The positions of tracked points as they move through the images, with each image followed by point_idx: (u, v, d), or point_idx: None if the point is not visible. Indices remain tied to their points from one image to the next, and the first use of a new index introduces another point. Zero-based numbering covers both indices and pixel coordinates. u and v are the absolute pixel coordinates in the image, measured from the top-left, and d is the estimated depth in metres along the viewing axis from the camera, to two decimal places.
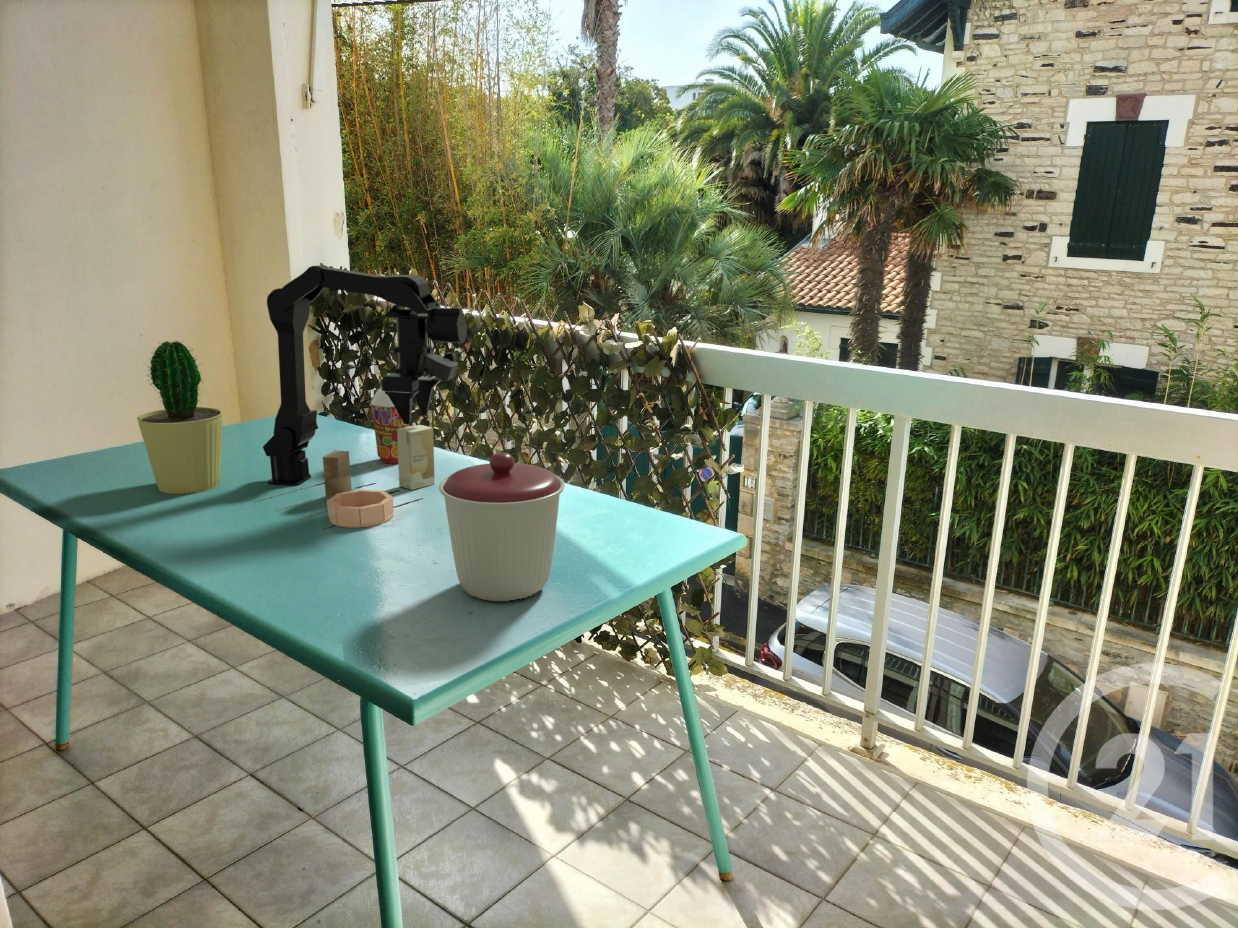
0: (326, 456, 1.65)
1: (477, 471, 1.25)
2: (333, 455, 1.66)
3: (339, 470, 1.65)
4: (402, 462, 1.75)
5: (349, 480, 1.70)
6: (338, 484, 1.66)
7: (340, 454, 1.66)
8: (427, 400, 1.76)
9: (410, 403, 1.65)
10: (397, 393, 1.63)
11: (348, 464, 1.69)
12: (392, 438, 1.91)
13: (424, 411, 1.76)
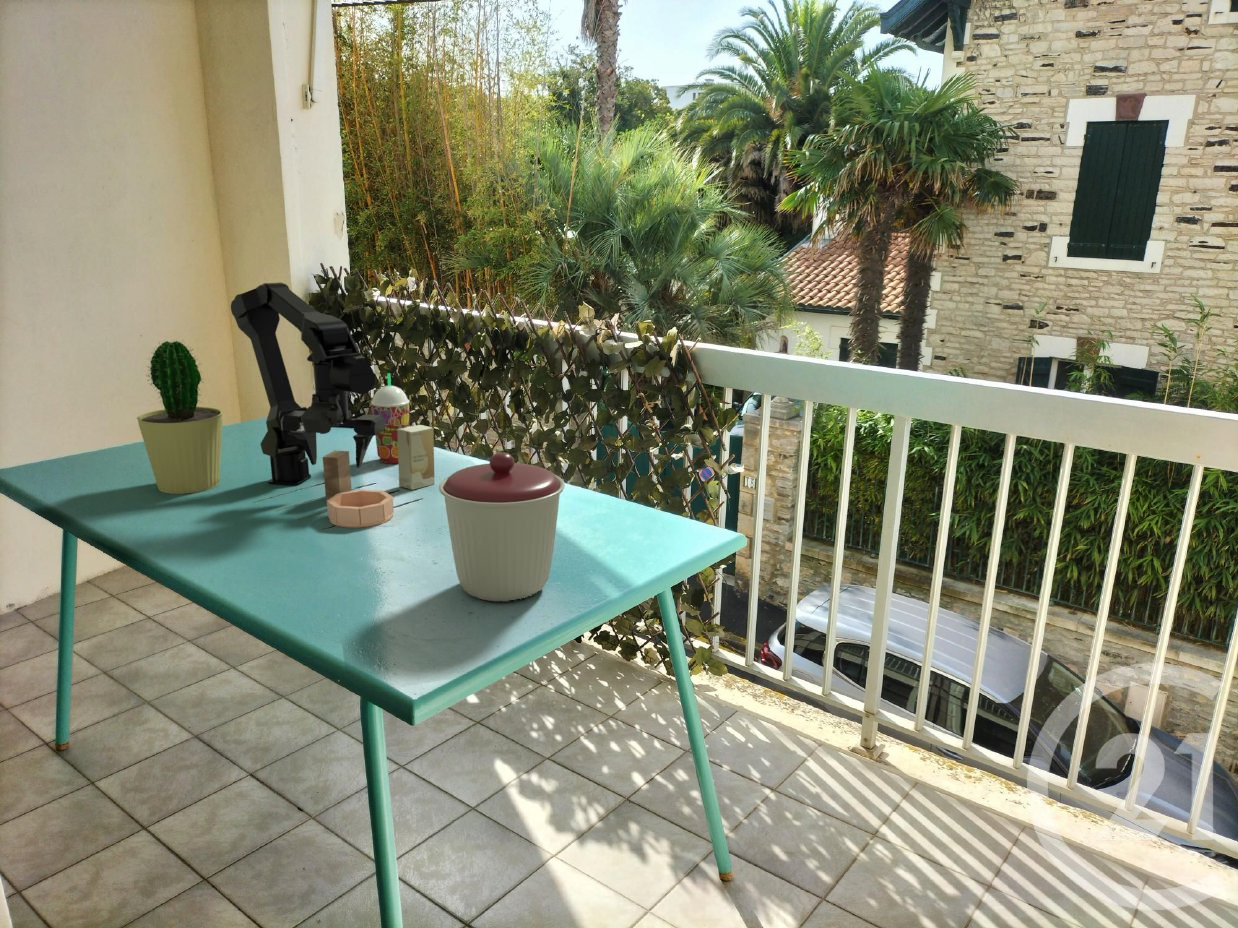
0: (326, 456, 1.65)
1: (477, 471, 1.25)
2: (333, 455, 1.66)
3: (339, 470, 1.65)
4: (402, 462, 1.75)
5: (349, 480, 1.70)
6: (338, 484, 1.66)
7: (340, 454, 1.66)
8: None
9: (303, 443, 1.66)
10: None
11: (348, 464, 1.69)
12: (392, 438, 1.91)
13: None
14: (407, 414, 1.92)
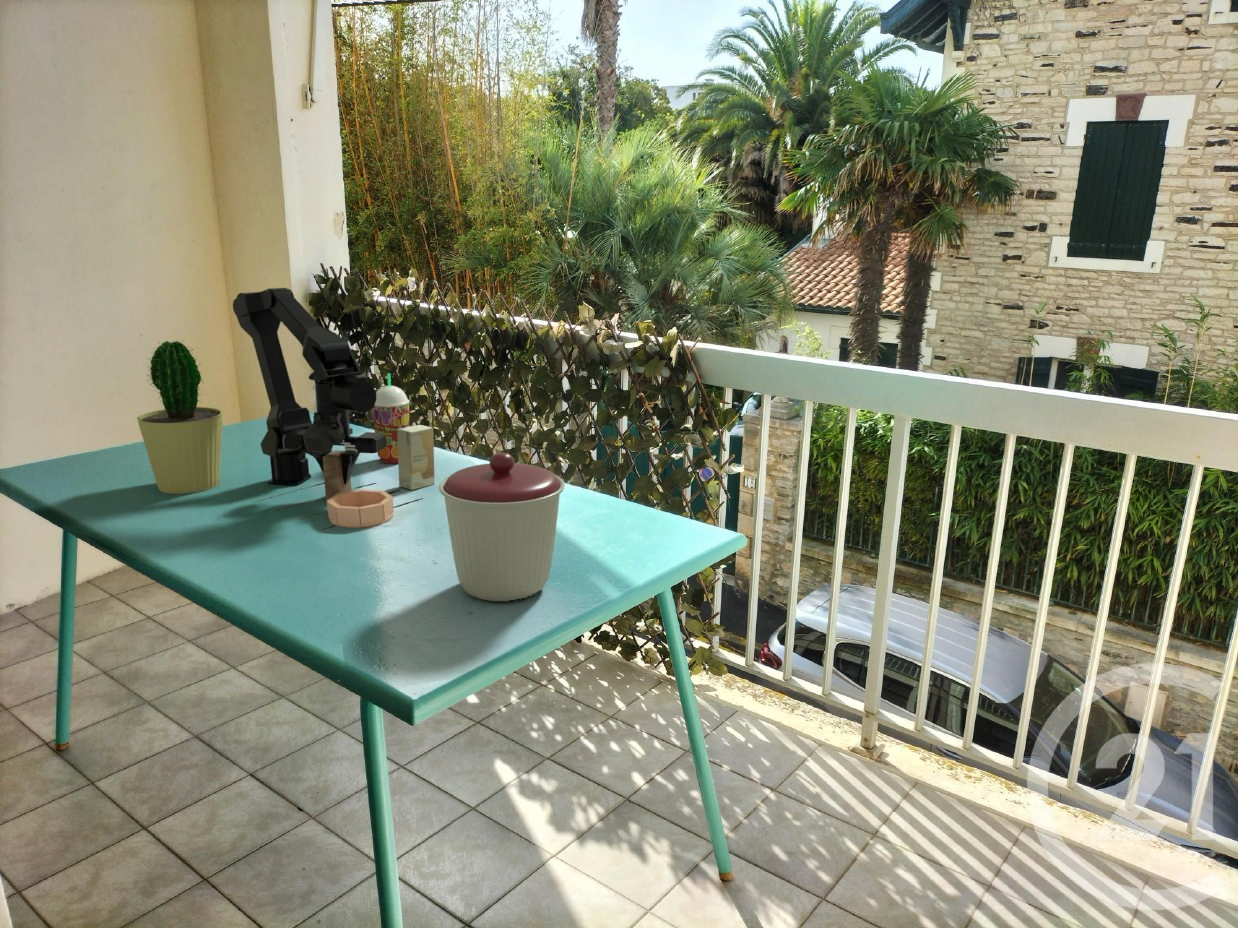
0: (326, 456, 1.65)
1: (477, 471, 1.25)
2: (333, 455, 1.66)
3: (339, 470, 1.65)
4: (402, 462, 1.75)
5: (349, 480, 1.70)
6: (338, 484, 1.66)
7: None
8: None
9: (319, 462, 1.66)
10: None
11: None
12: (392, 438, 1.91)
13: None
14: (407, 414, 1.92)
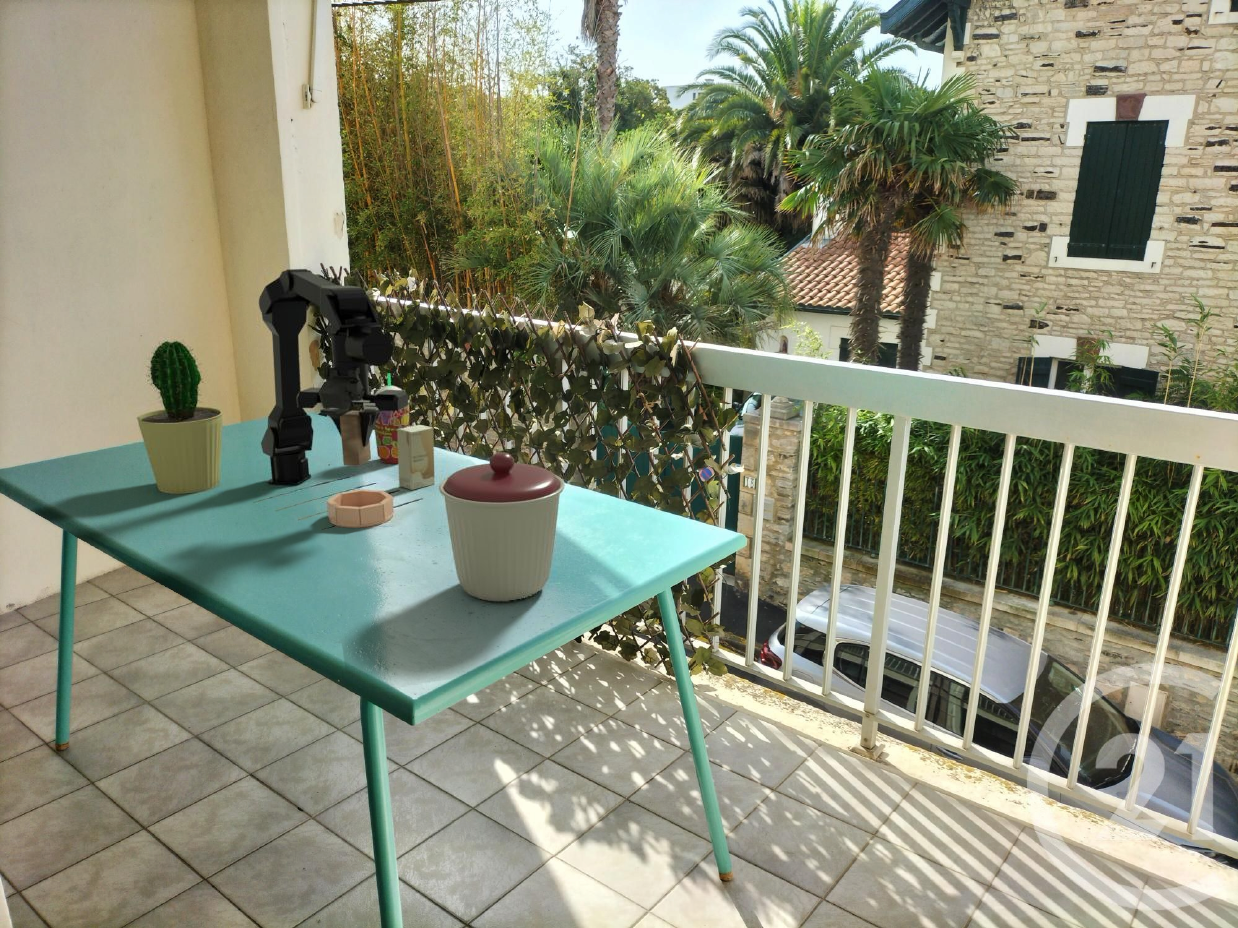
0: (343, 415, 1.52)
1: (477, 471, 1.25)
2: (351, 414, 1.53)
3: (358, 430, 1.52)
4: (402, 462, 1.75)
5: (368, 443, 1.57)
6: (357, 446, 1.53)
7: (358, 413, 1.54)
8: None
9: (336, 423, 1.53)
10: None
11: None
12: (392, 438, 1.91)
13: None
14: (407, 414, 1.92)
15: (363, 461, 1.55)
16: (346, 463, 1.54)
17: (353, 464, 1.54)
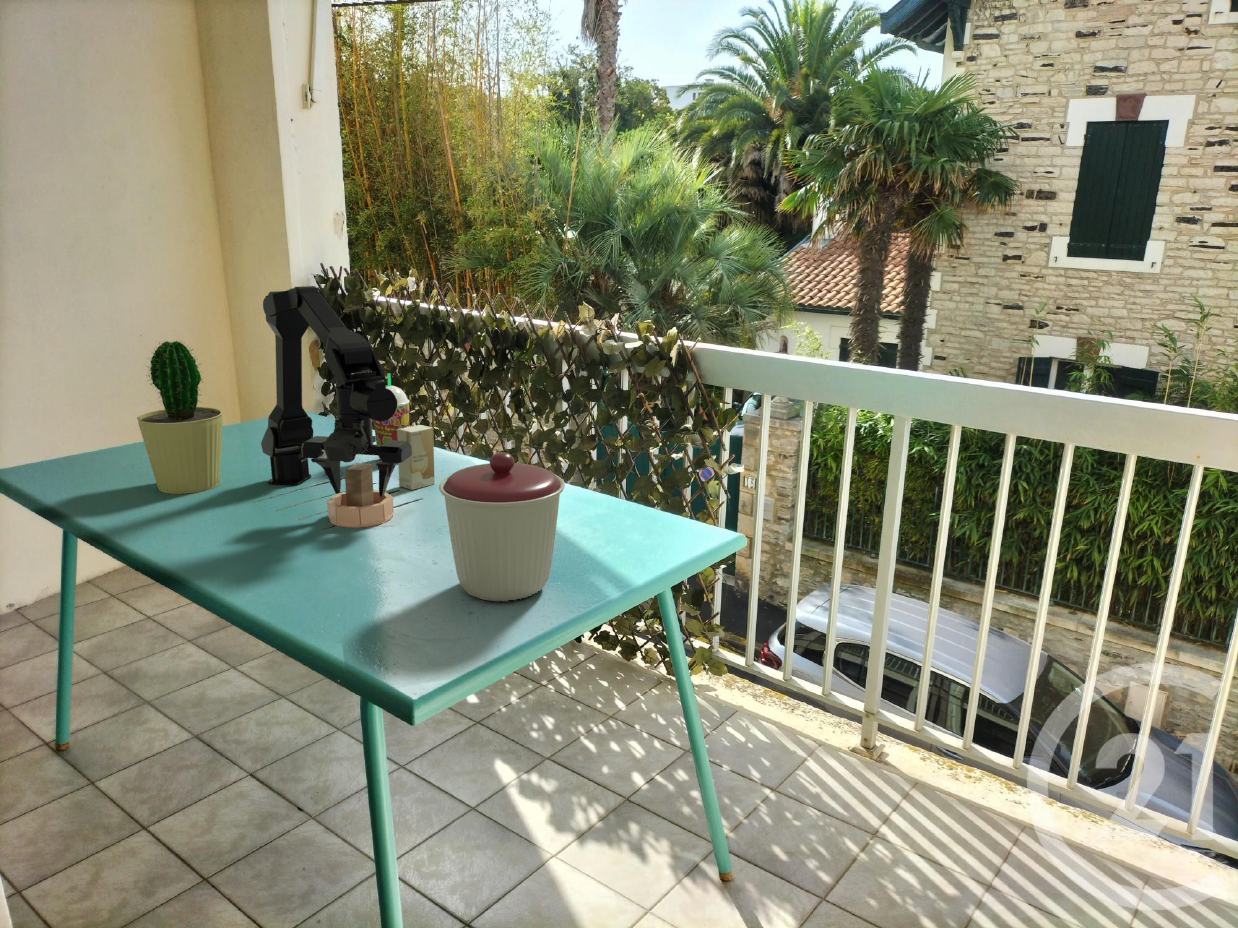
0: (348, 470, 1.54)
1: (477, 471, 1.25)
2: (356, 468, 1.55)
3: (362, 485, 1.55)
4: (402, 462, 1.75)
5: (372, 495, 1.59)
6: (361, 500, 1.55)
7: (363, 467, 1.56)
8: None
9: (327, 471, 1.56)
10: None
11: (371, 478, 1.58)
12: (392, 438, 1.91)
13: None
14: (407, 414, 1.92)
15: None
16: None
17: None
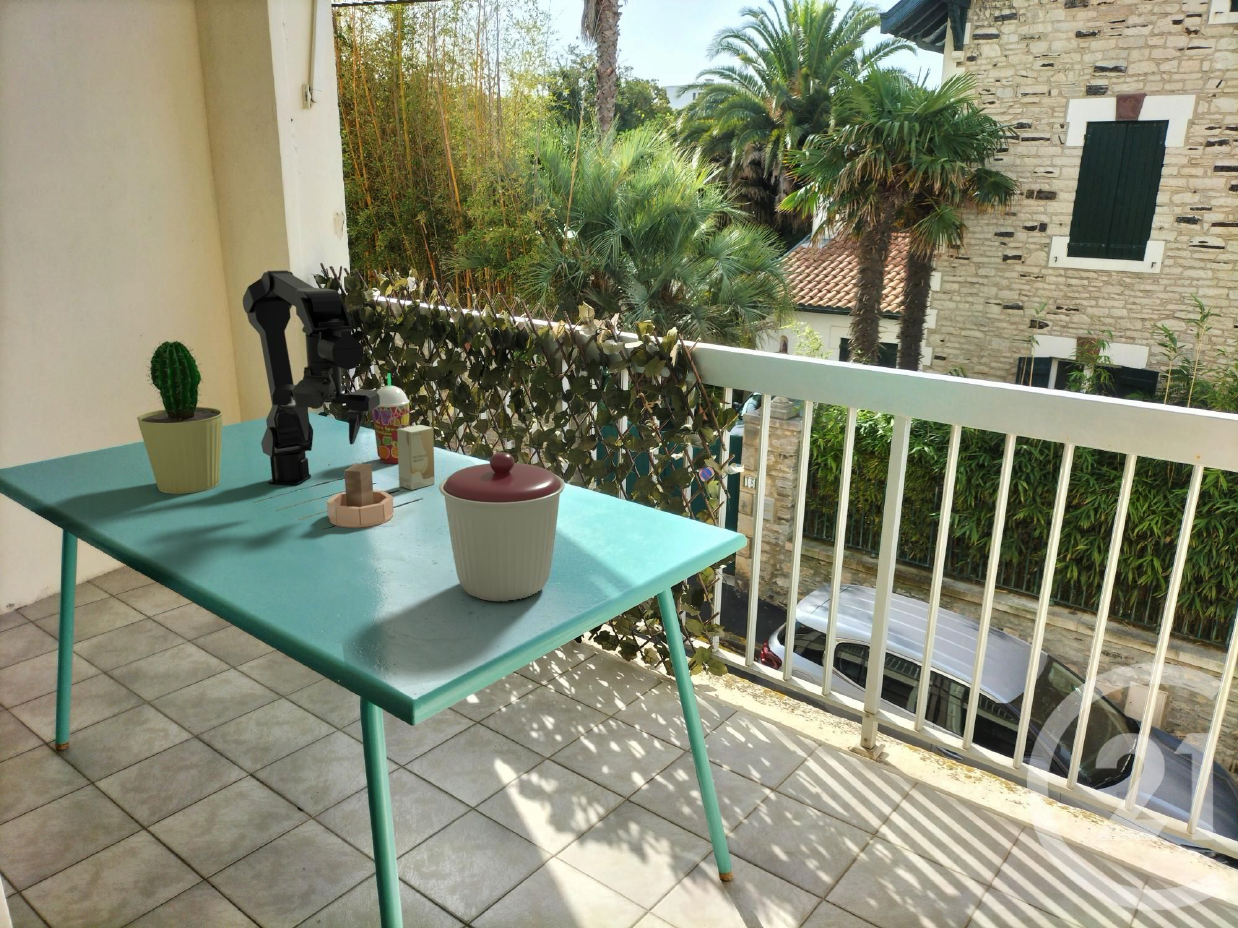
0: (348, 470, 1.54)
1: (477, 471, 1.25)
2: (355, 469, 1.55)
3: (362, 485, 1.55)
4: (402, 462, 1.75)
5: (371, 495, 1.59)
6: (361, 500, 1.55)
7: (362, 467, 1.56)
8: None
9: (294, 418, 1.60)
10: None
11: (371, 478, 1.58)
12: (392, 438, 1.91)
13: None
14: (407, 414, 1.92)
15: None
16: None
17: None
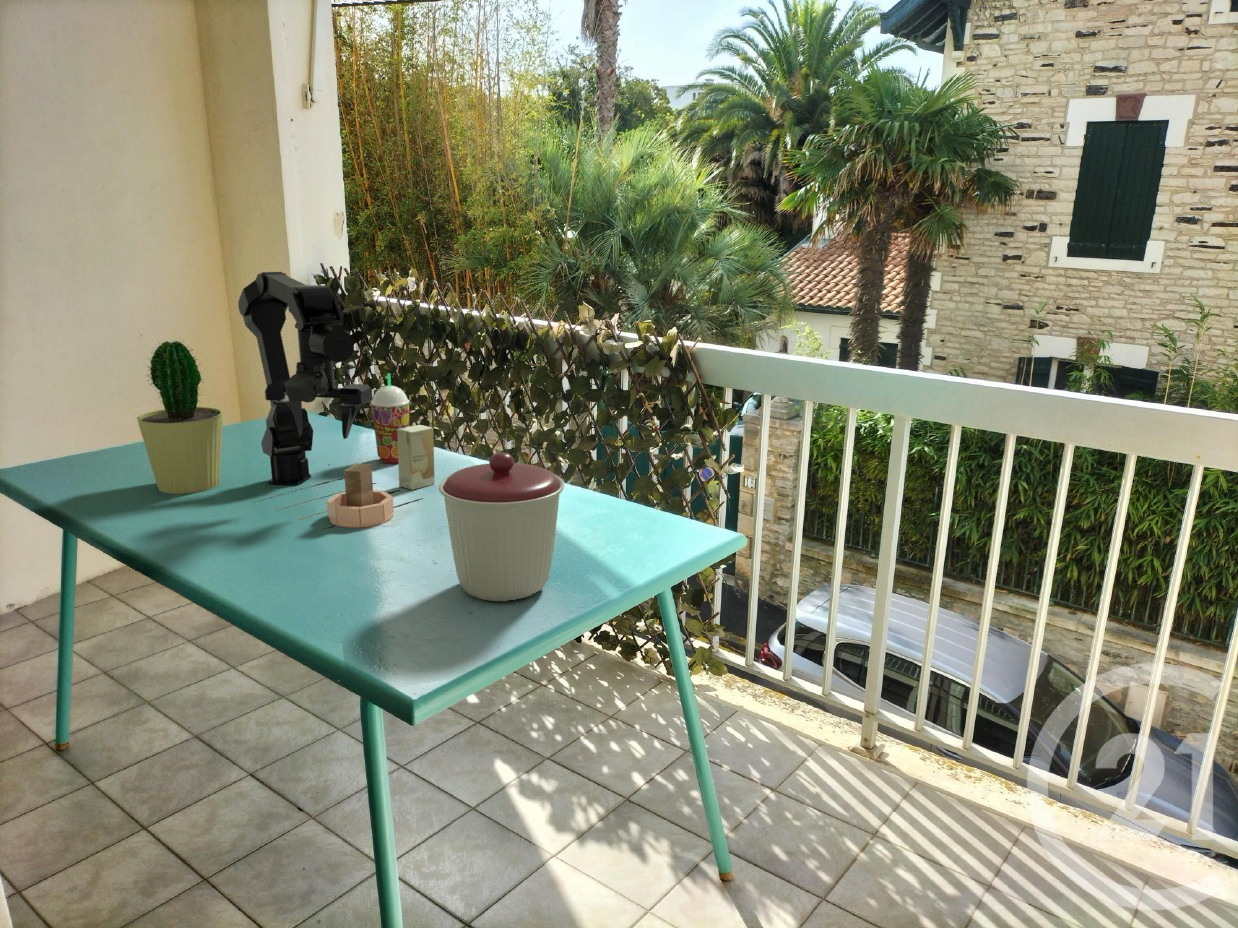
0: (348, 470, 1.54)
1: (477, 471, 1.25)
2: (355, 469, 1.55)
3: (362, 485, 1.55)
4: (402, 462, 1.75)
5: (372, 495, 1.59)
6: (361, 500, 1.55)
7: (362, 467, 1.56)
8: None
9: (288, 414, 1.61)
10: None
11: (371, 478, 1.58)
12: (392, 438, 1.91)
13: None
14: (407, 414, 1.92)
15: None
16: None
17: None
